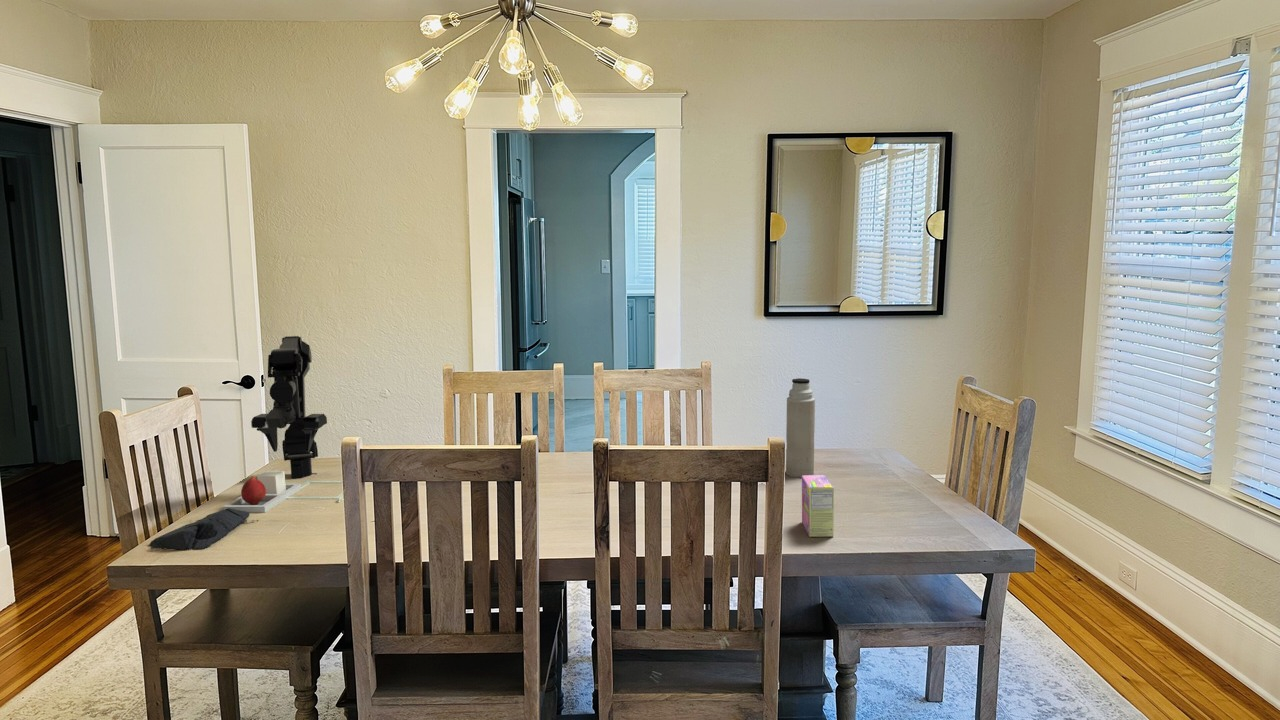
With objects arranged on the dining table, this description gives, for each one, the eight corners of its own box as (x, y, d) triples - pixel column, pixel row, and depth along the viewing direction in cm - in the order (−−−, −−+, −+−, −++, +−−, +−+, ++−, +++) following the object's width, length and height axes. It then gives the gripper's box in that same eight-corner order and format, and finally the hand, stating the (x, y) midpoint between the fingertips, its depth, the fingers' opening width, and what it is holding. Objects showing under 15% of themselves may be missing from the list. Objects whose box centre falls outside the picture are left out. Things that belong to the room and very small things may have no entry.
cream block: (268, 492, 222) (266, 470, 221) (286, 492, 222) (284, 470, 221) (259, 497, 217) (257, 476, 216) (277, 497, 217) (275, 476, 216)
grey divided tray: (263, 492, 225) (262, 483, 225) (301, 492, 225) (301, 483, 224) (223, 516, 205) (222, 506, 205) (265, 516, 205) (264, 506, 205)
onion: (249, 510, 206) (246, 480, 205) (238, 506, 210) (235, 476, 209) (271, 504, 211) (268, 475, 210) (259, 500, 214) (257, 471, 213)
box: (800, 522, 195) (801, 474, 193) (824, 522, 194) (825, 474, 193) (808, 537, 184) (809, 487, 183) (833, 537, 184) (834, 487, 183)
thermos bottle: (810, 469, 240) (812, 376, 236) (816, 477, 232) (817, 381, 228) (783, 469, 240) (784, 377, 236) (788, 477, 232) (789, 381, 228)
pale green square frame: (307, 485, 232) (307, 481, 232) (362, 485, 231) (362, 480, 231) (280, 502, 216) (280, 498, 216) (339, 502, 215) (338, 498, 215)
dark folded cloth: (261, 520, 203) (260, 502, 202) (202, 553, 181) (200, 533, 181) (206, 518, 205) (204, 500, 205) (141, 550, 184) (139, 530, 183)
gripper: (237, 401, 211) (242, 459, 213) (306, 401, 210) (311, 459, 212) (259, 393, 222) (264, 448, 224) (325, 393, 221) (329, 448, 223)
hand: (291, 451), depth 221 cm, fingers open, 9 cm apart
